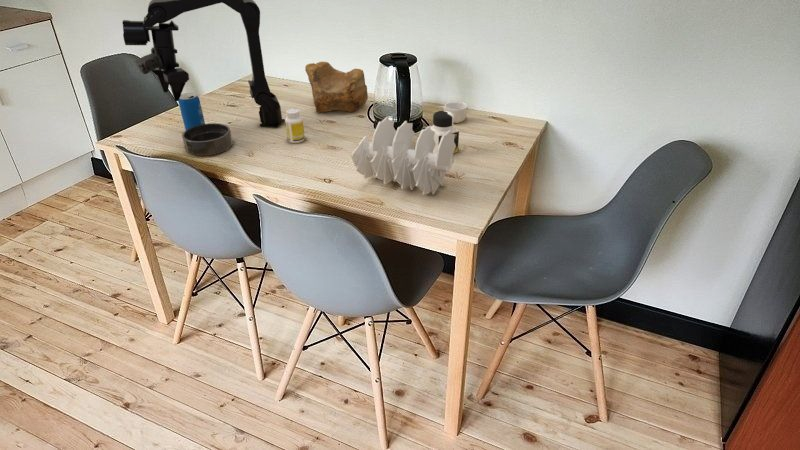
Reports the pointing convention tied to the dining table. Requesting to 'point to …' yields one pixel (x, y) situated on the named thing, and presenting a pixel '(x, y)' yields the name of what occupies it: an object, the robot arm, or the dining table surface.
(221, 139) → the dark grey bowl
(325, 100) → the rough brown rock
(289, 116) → the supplement bottle
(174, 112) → the dining table surface
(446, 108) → the teacup
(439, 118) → the medicine bottle
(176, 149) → the dining table surface
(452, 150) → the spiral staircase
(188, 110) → the beverage can
